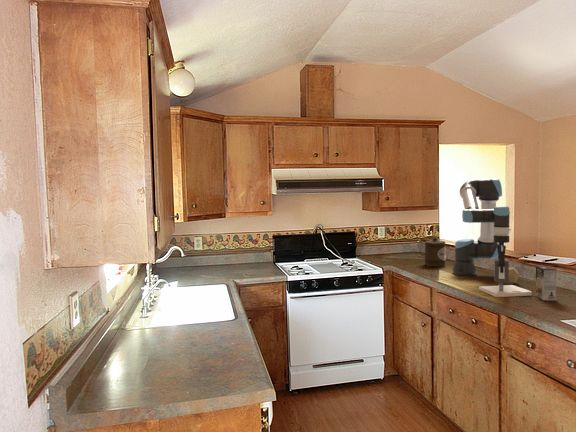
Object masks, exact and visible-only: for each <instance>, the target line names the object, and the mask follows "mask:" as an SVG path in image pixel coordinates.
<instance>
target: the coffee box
mask: <svg viewBox="0 0 576 432" xmlns="http://www.w3.org/2000/svg"><path fill="white" fill-rule="evenodd" d="M556 291H557V268H554V267H551V266H550V265H540V266H539V265H537V266H535V297H537V298H539V299H541V300H542V301H557V300H556V299H557V297H556V296H557V293H556Z"/></svg>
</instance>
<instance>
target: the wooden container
mask: <svg viewBox="0 0 576 432" xmlns="http://www.w3.org/2000/svg"><path fill="white" fill-rule="evenodd" d="M424 246H425V247H424V266H426V265H427V267H431V266H436V267H435V268H442V266H443V267H446V241H445V240H438V237H437V236H433V237H432V240H426V241H425V242H424Z"/></svg>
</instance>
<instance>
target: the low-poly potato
mask: <svg viewBox="0 0 576 432" xmlns="http://www.w3.org/2000/svg"><path fill="white" fill-rule="evenodd" d="M519 275H520V274H519V272H518V270H517V269H516V268H515V267H513V266H512V267H511V266H509V283H508V282H504V285H514V283H515V284H516V282H517V281H518V279H519Z"/></svg>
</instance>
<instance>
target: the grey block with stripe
mask: <svg viewBox="0 0 576 432" xmlns="http://www.w3.org/2000/svg"><path fill="white" fill-rule="evenodd" d="M509 264H510V261H509V259H506V258H505V266H504V267H505V279H499V267H498V265H499V259H498V258H496V259H493V265H494V266H493V267H494V269H493V274H494V275H493V281H494V282H497V283H499V282H508V283H509V267H510V265H509Z"/></svg>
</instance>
